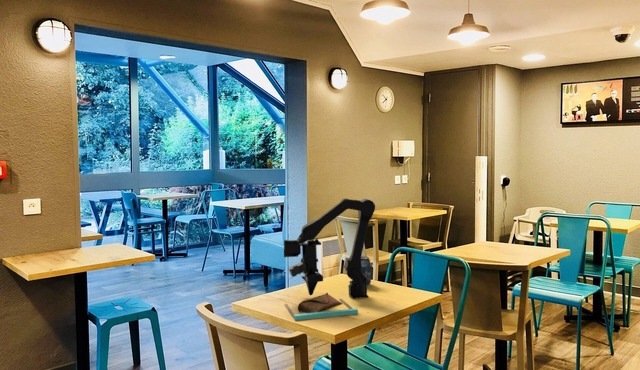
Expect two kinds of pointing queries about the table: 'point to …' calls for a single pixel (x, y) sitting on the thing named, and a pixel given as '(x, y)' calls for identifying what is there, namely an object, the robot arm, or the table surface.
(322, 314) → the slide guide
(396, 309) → the table surface
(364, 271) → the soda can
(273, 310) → the table surface
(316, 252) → the robot arm
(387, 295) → the table surface
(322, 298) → the sunglasses case
